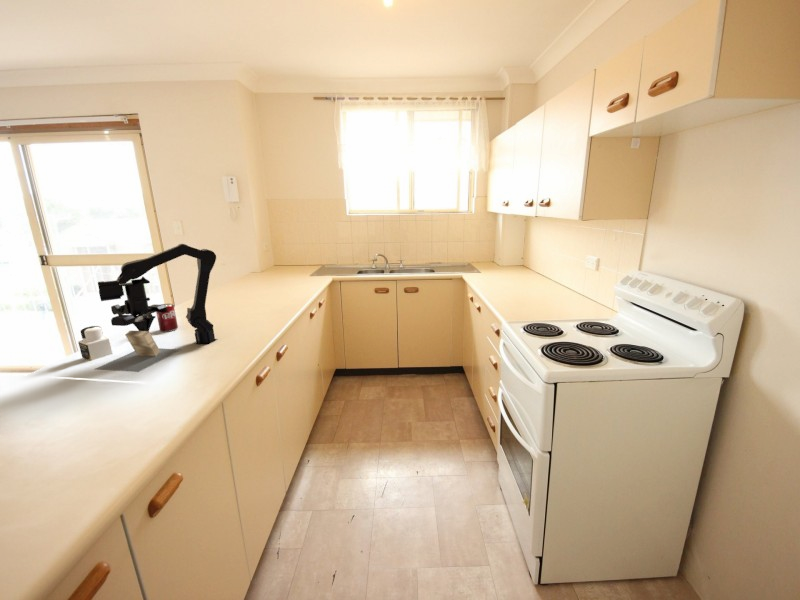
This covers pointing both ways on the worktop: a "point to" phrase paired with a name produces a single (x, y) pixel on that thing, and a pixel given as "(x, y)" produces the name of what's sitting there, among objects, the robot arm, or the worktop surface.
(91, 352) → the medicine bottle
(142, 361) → the mat
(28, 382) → the worktop surface
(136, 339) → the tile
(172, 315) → the soda can
